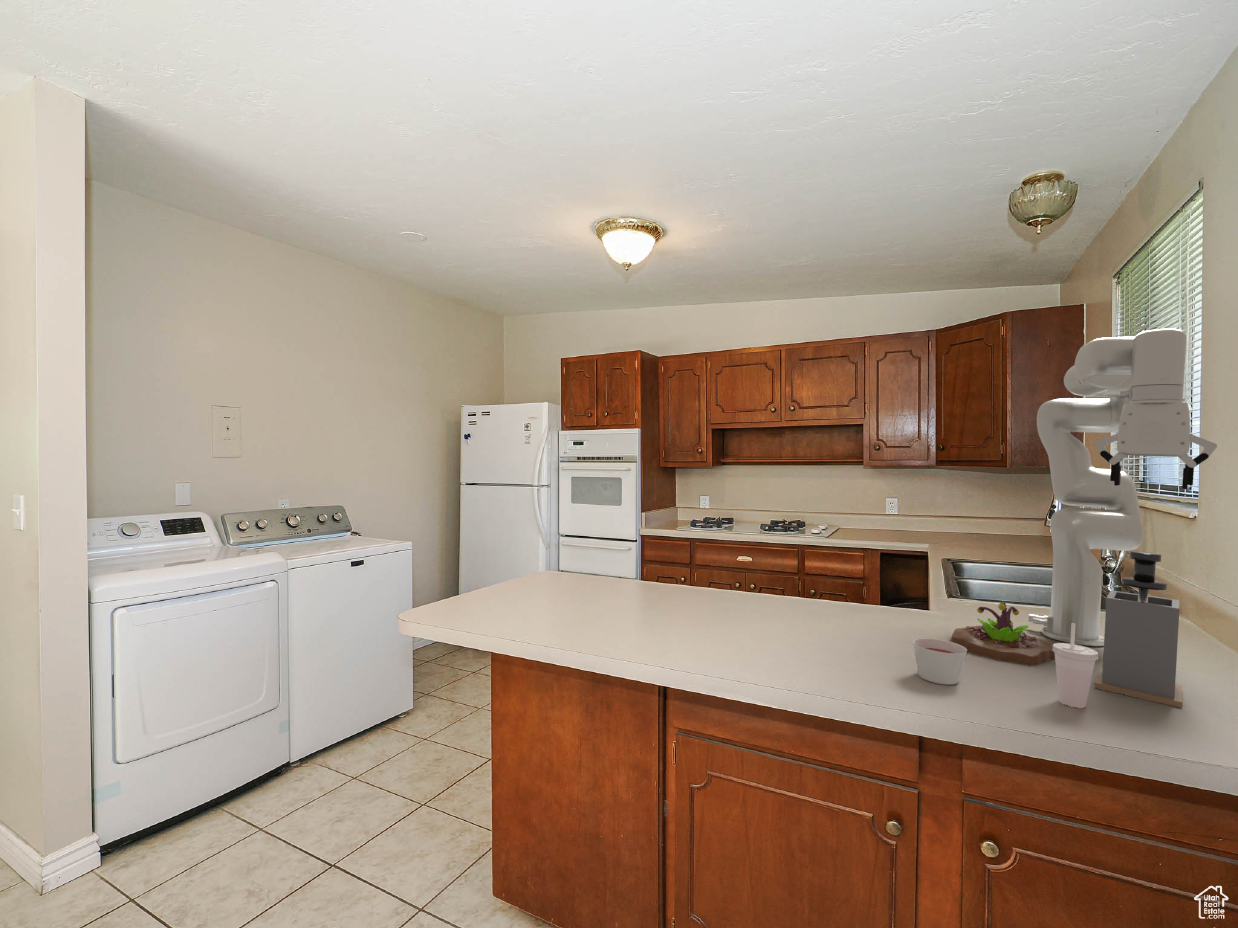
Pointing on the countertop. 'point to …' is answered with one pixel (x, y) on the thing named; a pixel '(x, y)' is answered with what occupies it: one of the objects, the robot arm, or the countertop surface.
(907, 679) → the countertop surface
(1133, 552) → the plunger
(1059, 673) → the smoothie
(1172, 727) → the countertop surface
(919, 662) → the candle
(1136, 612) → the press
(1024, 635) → the plant
